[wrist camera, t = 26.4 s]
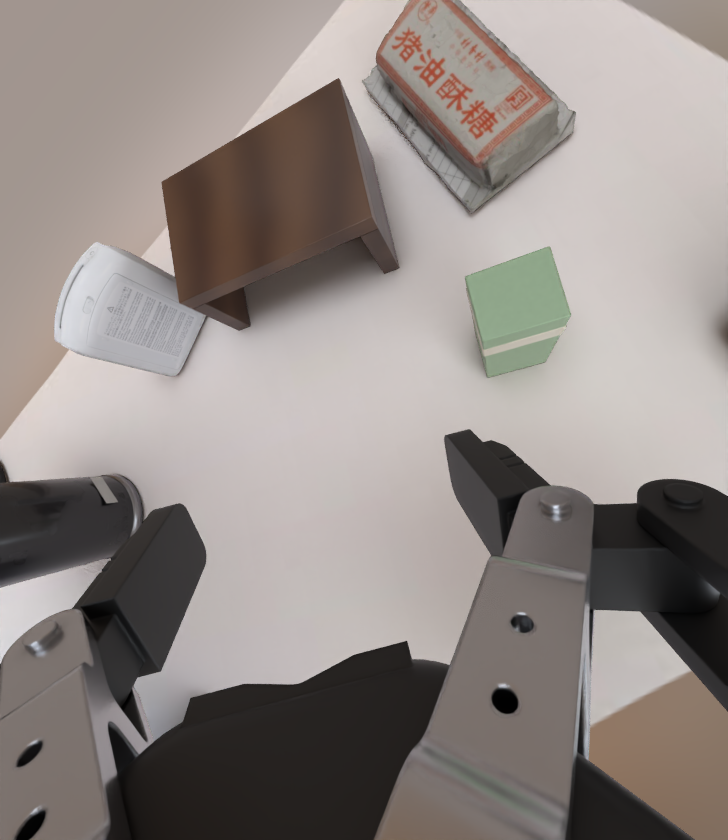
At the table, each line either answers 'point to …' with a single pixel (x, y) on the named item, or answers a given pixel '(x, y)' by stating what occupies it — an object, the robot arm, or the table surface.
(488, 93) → the packaged product
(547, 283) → the box
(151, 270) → the photo printer
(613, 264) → the table surface
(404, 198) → the table surface
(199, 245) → the shelf stand
